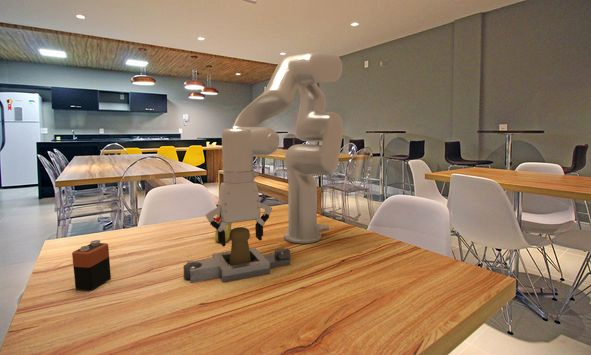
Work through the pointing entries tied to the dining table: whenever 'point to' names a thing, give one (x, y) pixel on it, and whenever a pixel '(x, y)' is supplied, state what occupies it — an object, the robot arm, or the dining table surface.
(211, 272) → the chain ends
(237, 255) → the cork
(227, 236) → the chocolate bunny
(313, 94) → the robot arm
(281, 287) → the dining table surface
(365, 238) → the dining table surface
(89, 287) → the battery
